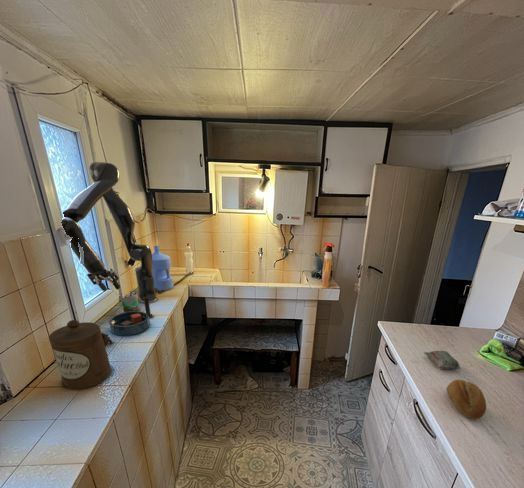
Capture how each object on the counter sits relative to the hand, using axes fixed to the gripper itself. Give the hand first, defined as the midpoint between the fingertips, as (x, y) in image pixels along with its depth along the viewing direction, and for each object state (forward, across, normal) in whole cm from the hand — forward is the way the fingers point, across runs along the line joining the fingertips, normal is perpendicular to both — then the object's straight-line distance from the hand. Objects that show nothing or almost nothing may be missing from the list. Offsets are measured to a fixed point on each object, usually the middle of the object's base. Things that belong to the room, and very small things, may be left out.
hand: (112, 289), depth 137 cm
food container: (+19, +4, -6) cm, 21 cm away
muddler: (+20, -8, -2) cm, 22 cm away
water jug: (+30, +13, -44) cm, 55 cm away
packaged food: (+49, -143, +8) cm, 151 cm away
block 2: (+17, -9, +7) cm, 20 cm away
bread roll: (+41, -144, +32) cm, 153 cm away
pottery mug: (+10, -9, +30) cm, 33 cm away
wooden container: (+7, -20, +47) cm, 52 cm away
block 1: (+14, -10, +15) cm, 23 cm away
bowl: (+16, -8, +11) cm, 21 cm away
